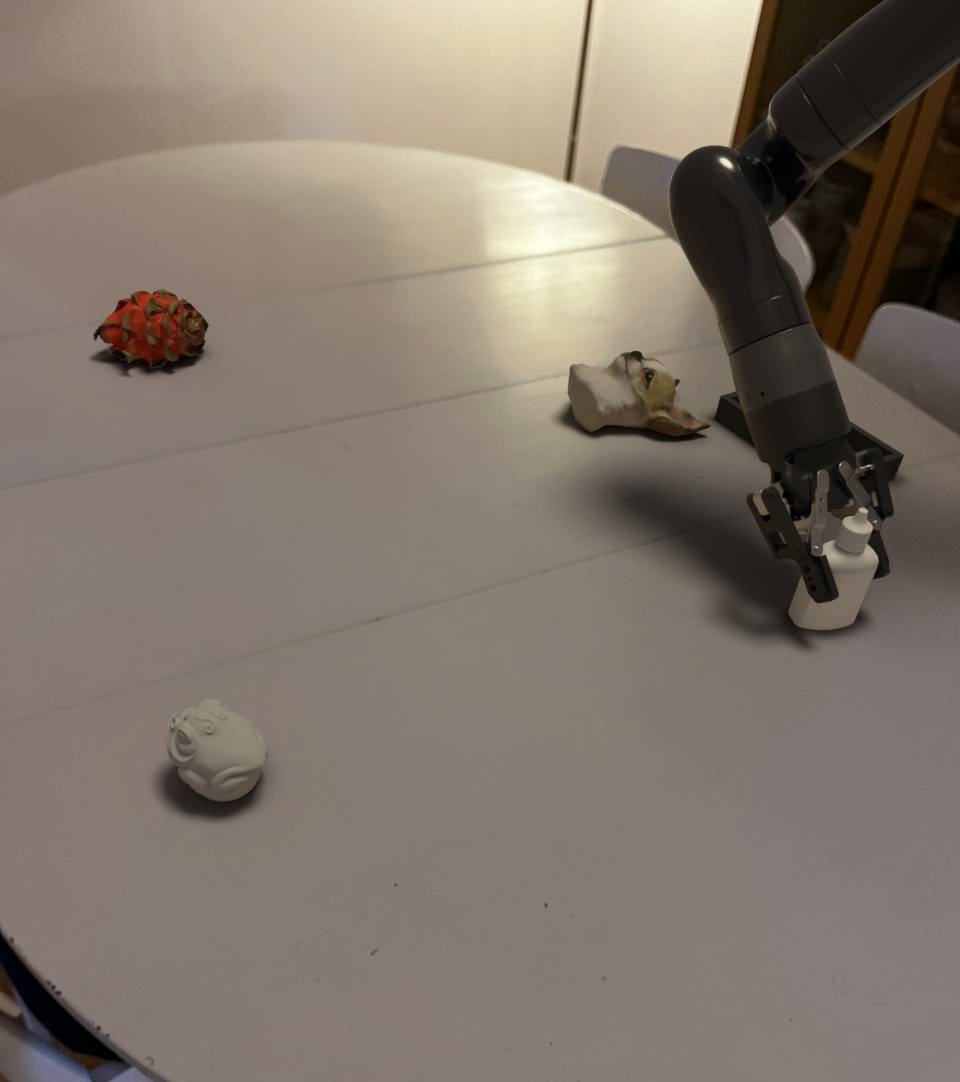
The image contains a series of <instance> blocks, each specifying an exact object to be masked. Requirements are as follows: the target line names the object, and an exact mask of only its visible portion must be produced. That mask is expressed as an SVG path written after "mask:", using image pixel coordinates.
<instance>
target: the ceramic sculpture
mask: <svg viewBox="0 0 960 1082" xmlns="http://www.w3.org/2000/svg"><path fill="white" fill-rule="evenodd" d="M567 380H568V382H567V396H568V399H569V401H570V405H571V409H572V415H573V418H574V421H575V422H576V423H578V424H579V425H580V426H581V427H582V428H583V429H584V430H586V431H587V432H589V433H594V432H597V431H598V430H600V429H601V428H603V427H604V426H615V427H616V426H618V427H625V428H633V429H634V428H635V429H649V430H651V431H653V432H657V433H659V434H661V435H662V434H663V435H666V436H670V437H680V436H685V435H691V434H695V433H698V432H701V431H704V430H707V429H710V427H711V426H712V424H710V423H709V422H705V421H703V420H700V419H697V418H696V417H695V416H694V415H693V414H692V413H691V412H689V411H688V410H685V409H683V408H680V407H678V406H676V405H675V403H674V402H675V397H676V388H677V387H678V386H679V384H680V383H681V379H680V378H674V377H673V375H672V373H671V371H670V369H669V368H668V367H667V366H666V365H664V363H662V361H660V360H659V359H657V358H654V357H645V356H644V355H643V353H642V352H641V351H639V350H632V351H626V352H622V353H620V354H619V355H618V356H616V357H615V358H614V359H613V361H612V362H611V363H610V365H607V366H604V367H603V366H602V367H600V366H597V367H596V366H591V365H587V364H586V363H578V364H577V363H572V364H571V365H570V367H569V374H568V379H567Z"/></svg>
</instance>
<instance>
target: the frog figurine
mask: <svg viewBox="0 0 960 1082" xmlns="http://www.w3.org/2000/svg"><path fill="white" fill-rule="evenodd" d="M165 728H166V729H165V730H166V731H165V744H166V752H167V755H168V757H169V760H170V761H171V762H172V764H173V765H174V766H175V767H177V773H178V776H179V778H180V779H181V780H182V781H183V782H184V783H185V784H187V785H189V788H191V789H193V790H194V791H195V793H197V794H199V795H201V796H202V797H204V798H206V799H207V800H210V801H213V802H221V803H223V802H232V801H236V800H238V799H240V798H242V797H244V796H245V795H247V794H248V793H249V792H251V790H252V789H253V788H254V787H255V786H256V784H257V782H258V781H259V779H260V776H261V773H262V767H263V766H265V764H266V760H267V759H268V757H269V744H268V742H267V740H266V738H265V737H264V736H262V733H261V732H260V729H258V728H256V727H255V726H254V724H253V723H252V721H251V720H250V719H249V718H247V716H245V715H243V714H241V713H238V712H236V711H233V709H230V707H229V706H226V705H222V704H221V702H220V701H219V700H217V699H213V698H205V699H202V700H201V701H200V702H198V703H197V704H196V705H195V706H192V705H191V706H188V707H186V708H181V709H179V710H178V709H177V710H176V711H175V712H174V713H172V714H171V715H170V716H169V718H168V720H167V723H166V727H165Z"/></svg>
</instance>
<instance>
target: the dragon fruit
mask: <svg viewBox="0 0 960 1082" xmlns="http://www.w3.org/2000/svg"><path fill="white" fill-rule="evenodd" d="M209 326H210V324H209V322H208V321H207V320H206V318H205V317H204V315H203V314H202V313H201V312H200V311H198V309H196V307H195V306H194V305H193V304H192V303H190V302H189V301H187V299H185V298H181V299H179V298H178V296H177V294H175V293H173V292H171V291H169V290H167V289H165V288H160V289H157V290H154V291H153V293H150V292H148V291H147V290H138V291H135V292H133V293H131V294H130V296H129V297H127V298H121V299H119V300H117V305H116V307H115V309H114V310H113V312H112V313H111V314H109V315H108V316H107V317H106V318H105V319H104V322H102V323H101V324H99V325H98V326H97V329H95V331H94V333H93V335H92V336H93V340H94V342H97V339H98V337H99V338H100V340H102V342H103V343H105V344H106V345H109V344H112V346H109V347H108V348H107V352H108V354H109V355H110V356H113V357H114V358H117V359H118V360H119V361H122V362H123V361H124V362H127V364H130V363H131V362H132V361H137V360H142V361H147V362H148V367H149V368H150V369H151V370H157V369H160V368H164V367H165V366H166V364H167V363H168V362H170V364H173V363H174V362H178V361H179V360H182V359H183V357H184V356H189V357H195V356H197V355H198V354H199V352H198V351H200V350H202V349H203V348H204V346H205V345H206V342H207V340H206V339H205V337H206V333H207V331H208V329H209ZM115 352H116V353H115ZM118 353H121V354H123V355H121V354H118ZM158 364H159V365H158Z"/></svg>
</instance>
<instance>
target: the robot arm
mask: <svg viewBox="0 0 960 1082" xmlns="http://www.w3.org/2000/svg"><path fill="white" fill-rule="evenodd" d="M959 63H960V0H883V1H881V2H880V3H879V4H877V5H876V6H875V7H873V8H871V9H870V10H869V11H868V12H866V13H865V14H863V15H861V17H859V18H858V19H857V20H856V21H855V22H853V23H852V24H851V25H850V26H848V27H847V28H846V29H844V30H843V31H842V32H841V33H840V34H838V36H836V37H835V38H834V39H833V40H832V41H831V42H830V43H828V44H827V45H826V46H825V47H824V48H823V49H822V50H821V51H820V52H818V53H817V54H816V55H815V56H814V57H812V58H811V60H809V61H808V62H807V63H806V64H805V65H804V66H803V67H801V68H800V69H799V70H798V71H797V72H796V73H795V74H793V76H791V77H790V78H789V79H788V80H787V81H786V82H785V83H784V84H783V85H781V87H780V88H779V89H778V90H777V92H776V93H775V94H774V95H773V96H772V99H771V100H770V103H769V106H768V115H767V117H766V118H765V119H764V120H763V121H762V122H761V123H760V124H759V125H758V126H757V127H756V128H755V129H754V130H753V131H752V132H751V133H750V134H749V135H748V136H747V137H746V138H745V139H744V140H743V141H742V142H741V143H740V144H739V145H738V146H736V147H735V148H733V147H729V146H725V145H719V144H710V145H705V146H701V147H698V148H695V149H694V150H692V151H691V152H689V153H688V154H686V155H685V156H684V157H683V158H682V159H681V160H680V162H678V164H677V165H676V167H675V168H674V171H673V172H672V174H671V178H670V179H669V184H668V189H667V207H668V208H667V209H668V214H669V218H670V219H669V220H670V222H671V225H672V228H673V231H674V234H675V236H676V239H677V242H678V244H679V246H680V248H681V250H682V252H683V254H684V256H685V258H686V260H687V263H689V265H690V268H691V269H692V271H693V273H694V275H695V277H696V279H697V281H698V283H699V284H700V287H701V288H702V290H703V291H704V293H705V294H706V296H707V299H708V300H709V302H710V304H711V307H712V310H713V315H714V319H715V323H716V325H717V328H718V332H719V334H720V337H721V340H722V343H723V346H724V349H725V351H726V355H727V357H728V361H729V365H730V370H731V376H732V382H733V385H734V388H735V389H734V390H735V391H736V392H737V395H738V398H739V400H740V403H741V406H742V409H743V412H744V415H745V418H746V421H747V424H748V427H749V430H750V433H751V436H752V439H753V442H754V445H755V447H754V448H755V451H756V454H757V456H758V459H759V461H760V462H761V463H763V464H767V465H768V467H769V469H770V484H768V485H767V486H765V487H764V488H762V489H760V490H756V491H753V492H750V493H748V494H747V495H746V504H747V506H748V508H749V510H750V512H751V514H752V517H753V518H754V520H755V522H756V524H757V526H758V529H759V531H760V532H761V534H762V537H763V539H764V541H765V542H766V545H767V547H768V548H769V551H770V553H771V556H772V557H773V559H775V560H776V561H783V560H787V561H789V560H790V561H794V562H795V563H796V564H797V565H798V568H799V571H800V574H801V576H802V577H803V580H804V582H805V586H806V589H807V592H808V594H809V595H810V597H811V598H812V599H813V600H814V601H815V602H816V603H818V604H819V603H825V602H830V601H833V600H835V599H837V598H838V597H839V592H838V589H837V586H836V583H835V580H834V577H833V574H832V571H831V568H830V565H829V562H828V559H827V556H826V555H822V553H823V544H824V529H825V528H826V527H827V525H828V513H830V514H831V516H832V517H834V518H836V519H840V520H841V522H842V521H843V519H844V518H846V517H848V516H855V514H856V513H857V511H858V510H859V508H865V509H867V510H868V514H867V521H869V522H870V523H871V525H872V527H873V531H872V533H871V535H870V538H869V540H868V543H867V545H869V546H870V547H871V548H872V549H873V550H874V551H875V553H876V554H877V556H878V560H879V563H878V566H877V569H876V571H875V574H874V576H873V579H872V581H873V580H877V579H883V578H885V577H887V576H888V575H890V574H891V568H890V558H889V556H888V554H887V550H886V546H885V543H884V540H883V537H882V534H881V529H882V527H883V523H884V522H885V520H886V519H888V518H892V517H893V516H894V513H895V509H894V504H893V500H892V495H891V489H890V485H889V481H888V479H887V474H886V470H885V465H884V460H883V455H882V451H881V450H880V449H879V448H878V447H875V448H872V449H868V450H864V451H861V452H857V453H854V451H853V450H852V449H851V448H850V446H849V445H848V443H847V441H846V438H845V436H846V435H847V434H848V433H849V432H850V430H851V424H850V422H851V421H850V418H849V414H848V412H847V409H846V405H845V403H844V400H843V397H842V393H841V391H840V388H839V384H838V382H837V379H836V376H835V373H834V370H833V366H832V364H831V361H830V357H829V355H828V352H827V350H826V346H825V345H824V342H823V340H822V339H821V337H820V335H819V332H818V331H817V329H816V325H815V323H813V322H814V320H813V317H812V314H811V311H810V308H809V304H808V302H807V299H806V296H805V293H804V291H803V288H802V285H801V282H800V279H799V277H798V275H797V273H796V271H795V269H794V266H793V265H792V264H791V263H790V262H789V261H788V260H787V259H786V258H785V257H784V256H783V255H782V254H781V253H780V251H779V248H777V247H778V246H777V245H776V242H775V239H774V236H773V234H772V231H771V229H770V227H772V226H773V225H774V224H775V223H777V222H778V221H779V220H780V219H781V218H782V217H783V216H784V215H785V214H786V213H787V212H788V211H789V210H790V209H791V208H792V207H793V206H794V205H795V204H796V203H797V202H798V201H800V199H801V198H802V197H803V196H804V194H806V192H807V191H808V190H809V189H810V188H811V187H812V186H813V185H814V184H815V183H816V181H818V179H819V178H820V177H821V176H822V175H823V173H824V172H825V171H826V170H828V168H830V167H831V166H833V165H834V164H835V163H837V162H838V161H839V160H841V159H842V158H843V157H845V156H847V154H849V153H850V152H851V151H852V150H854V149H855V148H856V147H858V145H860V144H861V143H862V142H863V141H865V140H866V139H867V138H868V137H869V136H871V135H872V134H874V133H875V132H876V131H877V130H878V129H880V128H881V127H882V126H883V125H885V124H886V123H887V122H888V121H890V120H891V119H892V118H893V117H894V116H895V115H897V114H898V113H899V112H900V111H902V109H904V108H905V107H906V106H908V105H909V104H910V103H911V102H912V101H913V100H915V99H916V98H917V97H919V96H920V95H921V94H922V93H923V92H924V91H925V90H927V89H929V87H931V86H932V85H933V84H935V82H937V81H938V80H939V79H940V78H942V77H943V76H944V75H946V73H948V72H949V71H951V70H952V69H953V68H954V67H956V66H957V65H958V64H959ZM873 493H875V497H876V502H877V505H875V506H874V501H873V496H872V495H873ZM802 517H803V519H802ZM806 534H807V541H806ZM783 540H784V541H783ZM821 555H822V556H821Z"/></svg>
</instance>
